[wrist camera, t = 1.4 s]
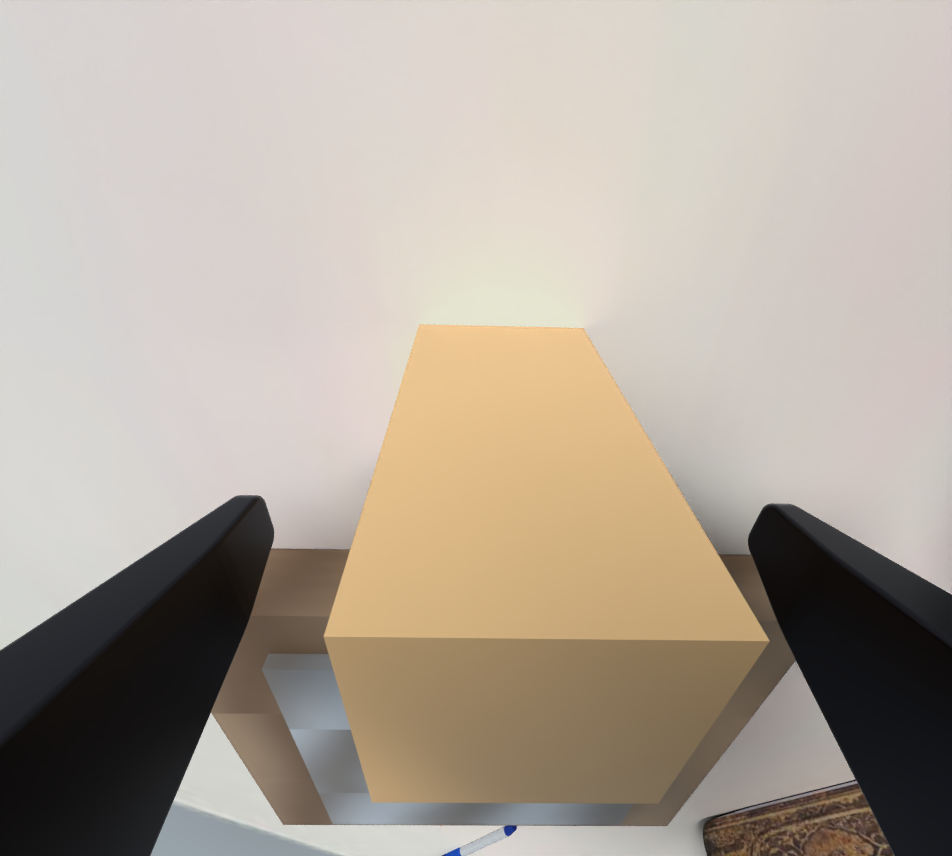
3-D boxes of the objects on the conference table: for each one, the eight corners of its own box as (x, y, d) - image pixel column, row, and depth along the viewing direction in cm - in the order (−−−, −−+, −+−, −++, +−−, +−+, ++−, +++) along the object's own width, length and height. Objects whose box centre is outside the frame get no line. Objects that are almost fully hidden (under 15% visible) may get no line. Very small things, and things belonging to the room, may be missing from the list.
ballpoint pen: (441, 858, 35) (440, 876, 34) (431, 857, 35) (430, 874, 34) (517, 820, 30) (518, 839, 29) (506, 818, 30) (507, 837, 29)
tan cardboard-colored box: (583, 327, 11) (770, 641, 4) (561, 458, 13) (657, 803, 6) (419, 324, 11) (323, 636, 4) (425, 456, 13) (372, 802, 6)
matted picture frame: (776, 555, 15) (837, 638, 13) (650, 768, 25) (670, 838, 22) (194, 548, 15) (137, 630, 12) (299, 766, 25) (279, 837, 22)
